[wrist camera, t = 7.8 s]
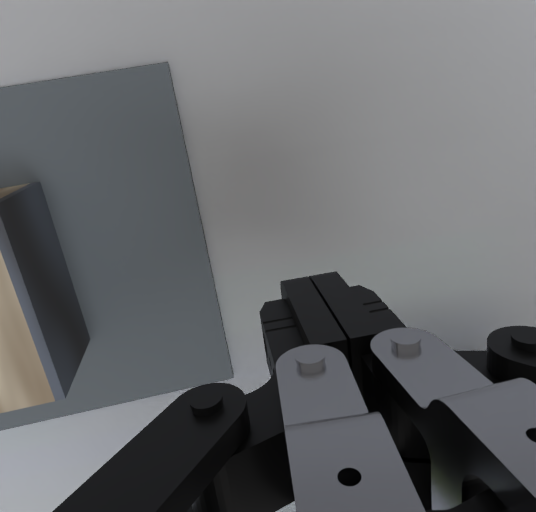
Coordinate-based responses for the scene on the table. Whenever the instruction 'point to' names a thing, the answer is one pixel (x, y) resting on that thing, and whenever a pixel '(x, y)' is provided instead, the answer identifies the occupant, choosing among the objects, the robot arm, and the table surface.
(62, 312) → the block
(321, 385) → the robot arm
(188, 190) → the mat
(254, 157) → the table surface
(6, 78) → the table surface
